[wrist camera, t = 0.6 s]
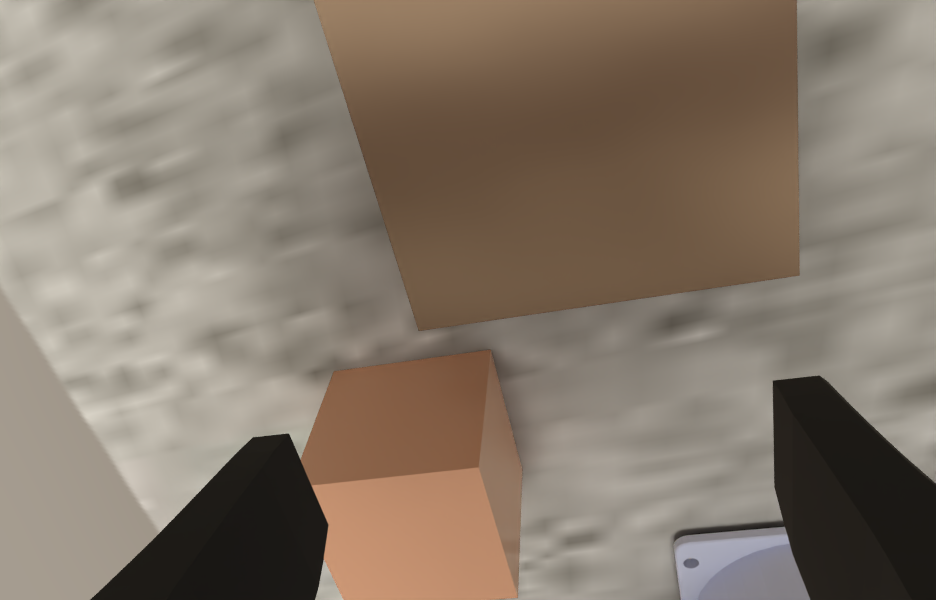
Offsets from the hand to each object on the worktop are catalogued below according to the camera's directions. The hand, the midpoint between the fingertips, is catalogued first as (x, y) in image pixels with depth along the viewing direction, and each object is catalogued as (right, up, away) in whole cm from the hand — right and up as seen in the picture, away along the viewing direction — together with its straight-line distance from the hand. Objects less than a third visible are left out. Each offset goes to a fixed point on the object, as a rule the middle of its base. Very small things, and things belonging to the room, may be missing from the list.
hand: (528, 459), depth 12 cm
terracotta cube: (-2, -2, +13) cm, 14 cm away
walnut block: (+1, +8, +7) cm, 10 cm away
